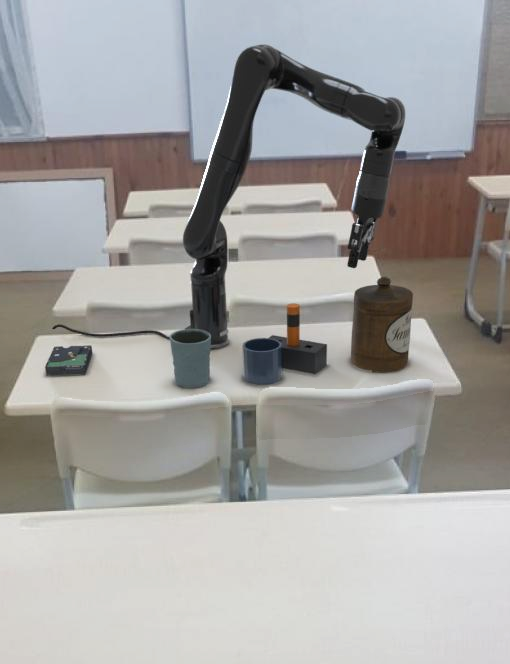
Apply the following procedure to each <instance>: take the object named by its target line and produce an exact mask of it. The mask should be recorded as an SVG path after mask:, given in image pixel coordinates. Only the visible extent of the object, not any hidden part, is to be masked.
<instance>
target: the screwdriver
mask: <svg viewBox="0 0 510 664" xmlns="http://www.w3.org/2000/svg"><path fill="white" fill-rule="evenodd" d="M300 310H301V309H300V304H299V303H295V302H294V303H288V304H287V305H286V337H287V345H289V346H297V345H299V344H300V340H301V339H300V335H301V334H300V333H301V332H300V331H301V330H300V327H301V324H300V323H301V321H300V320H301V314H300V313H301V311H300Z"/></svg>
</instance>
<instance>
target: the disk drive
mask: <svg viewBox="0 0 510 664" xmlns="http://www.w3.org/2000/svg"><path fill="white" fill-rule="evenodd" d="M92 356H93V347H92V345H90V344H89V345H88V344H87V345H70V346H68V347H64V346H60V345H59V346H53V348H52V351H51V353H50V355H49V358H48V359H47V362H46V364H45V365H44V368H45V369H44V370H45V375H46V376H50V377H53V376H54V377H55V376H77V375H81V376H82V375H86V374H87V371H88V368H89V365H90V362H91V359H92Z"/></svg>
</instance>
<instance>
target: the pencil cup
mask: <svg viewBox="0 0 510 664" xmlns="http://www.w3.org/2000/svg"><path fill="white" fill-rule="evenodd" d="M241 347H242V368H243V369H242V371H243V373H242V374H243V380H244V381H245V382H246V383H249V384H251V385H254V386H255V385H256V386H269V385H273V384H276V383H279V382H280V381H281V380H282V379H283V368H282V344H281V342H280V341H278V340H275V339H271V338H269V337H257V338H252V339H249V340H246V341H244V342H243V343H242V346H241Z"/></svg>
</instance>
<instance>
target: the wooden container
mask: <svg viewBox="0 0 510 664" xmlns="http://www.w3.org/2000/svg"><path fill="white" fill-rule="evenodd" d="M391 282H392V281H391V278H389V277H387V276H381V277H380V278H378V279H377V281H376V284H370V285H366V286H362V287H359V288H357V289H355V291H354V294H353V309H352V310H353V312H352V324H351V325H352V326H351V341H350V343H351V345H350V363H351V365H353V366H355V367H356V368H359V369H361V370H365V371H371V372H372V373H389V372H396V371H399V370H402V369H404V368H405V367H406V366H407V365H408V363H409V355H410V354H409V352H410V340H411V327H412V311H413V310H412V309H413V303H414V302H413V299H414V293H413V291H411V289H409V288H407V287H404V286H399V285H394V284H392V283H391Z"/></svg>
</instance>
